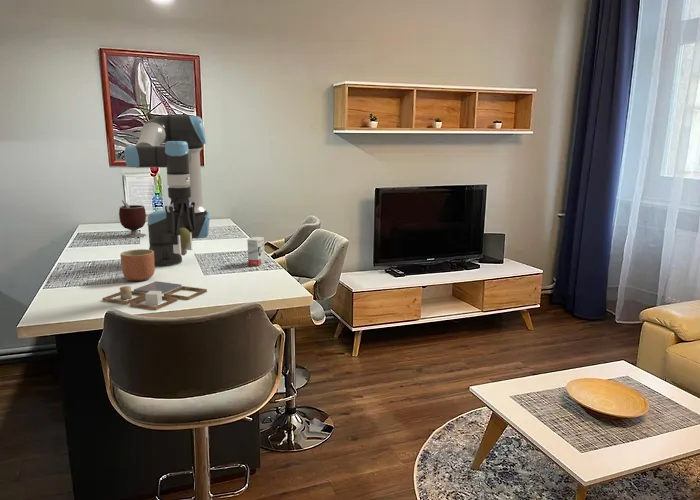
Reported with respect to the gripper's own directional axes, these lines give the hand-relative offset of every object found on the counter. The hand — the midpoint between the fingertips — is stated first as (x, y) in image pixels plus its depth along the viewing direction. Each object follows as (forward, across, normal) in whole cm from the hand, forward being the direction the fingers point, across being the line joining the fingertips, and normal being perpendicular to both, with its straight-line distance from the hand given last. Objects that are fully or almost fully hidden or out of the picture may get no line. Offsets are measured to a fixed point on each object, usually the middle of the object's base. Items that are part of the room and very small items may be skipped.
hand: (183, 251), depth 187 cm
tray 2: (+16, -13, +3) cm, 21 cm away
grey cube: (+16, -13, +3) cm, 21 cm away
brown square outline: (+16, 0, 0) cm, 16 cm away
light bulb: (+2, 0, 0) cm, 2 cm away
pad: (+16, +2, +14) cm, 21 cm away
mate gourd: (+17, +81, +98) cm, 128 cm away
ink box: (+17, +50, 0) cm, 52 cm away
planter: (+16, +10, +30) cm, 35 cm away
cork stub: (+16, -12, +16) cm, 26 cm away
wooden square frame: (+16, -12, +16) cm, 26 cm away
